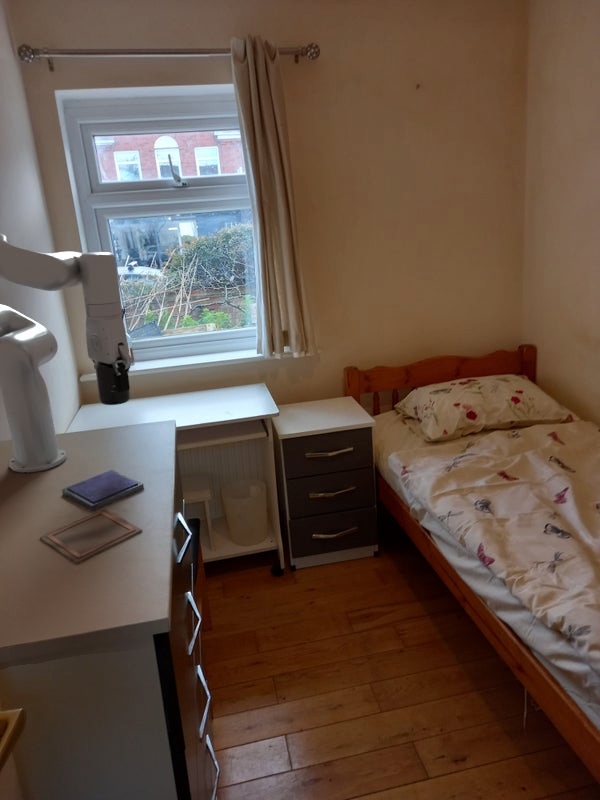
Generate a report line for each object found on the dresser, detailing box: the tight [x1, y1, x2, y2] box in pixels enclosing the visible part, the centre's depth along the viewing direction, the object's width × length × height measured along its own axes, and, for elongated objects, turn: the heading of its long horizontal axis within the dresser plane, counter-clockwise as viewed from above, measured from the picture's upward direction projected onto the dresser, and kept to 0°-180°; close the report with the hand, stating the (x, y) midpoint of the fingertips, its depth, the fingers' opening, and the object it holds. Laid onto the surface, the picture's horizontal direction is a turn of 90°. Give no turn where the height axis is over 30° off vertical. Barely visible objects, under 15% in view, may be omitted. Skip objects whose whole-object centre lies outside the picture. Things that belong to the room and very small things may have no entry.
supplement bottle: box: [95, 358, 131, 406], centre depth 129 cm, size 7×7×12 cm
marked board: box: [39, 508, 143, 565], centre depth 104 cm, size 13×13×1 cm
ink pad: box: [61, 469, 145, 512], centre depth 120 cm, size 12×12×2 cm
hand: (113, 387), depth 129 cm, fingers closed on supplement bottle, 6 cm apart
